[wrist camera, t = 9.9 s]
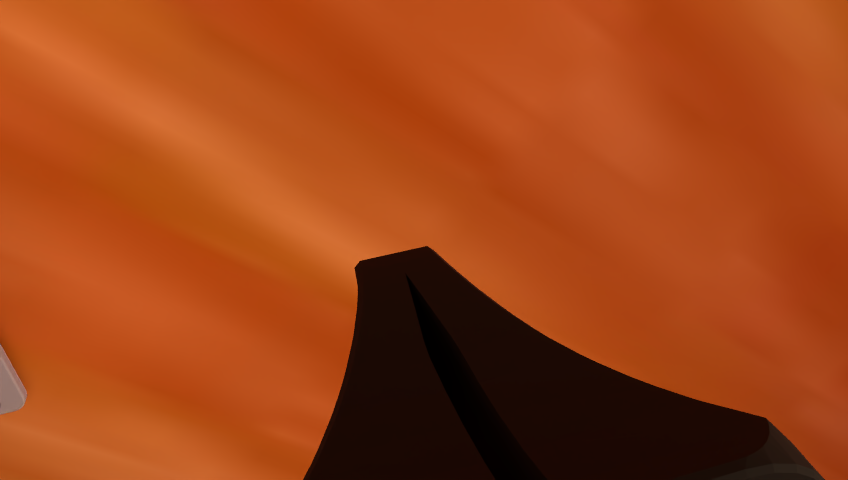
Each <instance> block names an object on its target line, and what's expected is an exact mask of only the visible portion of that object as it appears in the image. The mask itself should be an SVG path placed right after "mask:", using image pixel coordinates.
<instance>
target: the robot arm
mask: <svg viewBox="0 0 848 480" xmlns="http://www.w3.org/2000/svg"><path fill="white" fill-rule="evenodd" d="M355 273H356V278H357V284H358V302H357V313H356V321H355V329H354V336H353V341H352V346H351V350H350V355H349V359H348V363H347V368H346V372H345V376H344V379H343V383H342V386H341V390H340V393H339V396H338V399H337V402H336V405H335V408H334V411H333V414H332V416H331V419H330V421H329V424H328V426H327V429H326V431H325V434H324V436H323V439H322V441H321V444H320V446H319V448H318V451H317V453H316V455H315V457H314V459H313V461H312V464H311V466H310V467H309V469H308V471H307V473H306V475H305V477H304V479H303V480H825V479H824V478H823V477H822V476H821V475H820V474H819V473H818V472H817V471H816V470H815V468H814V467H813V466H812V465H811V464H810V463H809V462H808V461H807V460H806V458H805V457H804V456H803V455H802V454H801V452H800V451H799V450H798V449H797V448H796V447H795V446H794V445H793V444H792V443H791V441H789V440H788V439H787V438H786V437H785V436H784V435H783V434H782V433H781V432H780V431H779V430H778V429H777V428H776V427H775V426H774V425H773V424H772V423H771V422H769V421H768V420H767V419H766V418H764V417H760V416H756V415H753V414H749V413H745V412H741V411H737V410H733V409H729V408H726V407H722V406H718V405H714V404H710V403H706V402H702V401H699V400H696V399H692V398H689V397H686V396H683V395H680V394H677V393H674V392H671V391H668V390H665V389H662V388H659V387H656V386H653V385H651V384H648V383H645V382H643V381H640V380H637V379H635V378H632V377H630V376H627V375H625V374H623V373H620V372H618V371H616V370H613V369H611V368H609V367H606V366H604V365H602V364H599V363H597V362H595V361H593V360H591V359H589V358H587V357H584V356H582V355H580V354H578V353H576V352H575V351H573V350H571V349H569V348H567V347H565V346H563V345H561V344H560V343H558V342H556V341H554V340H552V339H550V338H548V337H547V336H545V335H543V334H542V333H540V332H539V331H537V330H535V329H534V328H532V327H531V326H529V325H528V324H526V323H525V322H523V321H522V320H520V319H519V318H517V317H516V316H514V315H513V314H511V313H510V312H508V311H507V310H506V309H504V308H503V307H501V306H500V305H499V304H497V303H496V302H495V301H494V300H492V299H491V298H490V297H488V296H487V295H486V294H484V293H483V292H482V291H480V290H479V289H478V288H477V287H475V286H474V285H473V284H472V283H470V282H469V281H468V280H467V279H466V278H464V277H463V276H462V275H461V274H460V273H458V272H457V271H456V270H455V269H454V268H453V267H451V266H450V265H449V264H448V263H447V262H446V261H445V260H444V259H443V258H441V257H440V256H439V255H438V254H437V253H436V252H435V251H434V250H432V249H431V248H429V247H428V246H425V247H421V248H416V249H412V250H407V251H403V252H398V253H394V254H389V255H385V256H380V257H376V258H371V259H367V260H362V261H360V262H359V263H358V264H357V265H356V267H355ZM26 398H27V392H26V389H25V388H24V386H23V384H22V382H21V380H20V379H19V377H18V375H17V373H16V371H15V369H14V368H13V366H12V364H11V362H10V360H9V359H8V357H7V355H6V353H5V351H4V349H3V348H2V346H1V344H0V415H1V414H5V413H9V412H13V411H16V410H19V409H21V408H22V407H23V406H24V404H25V401H26Z"/></svg>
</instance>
